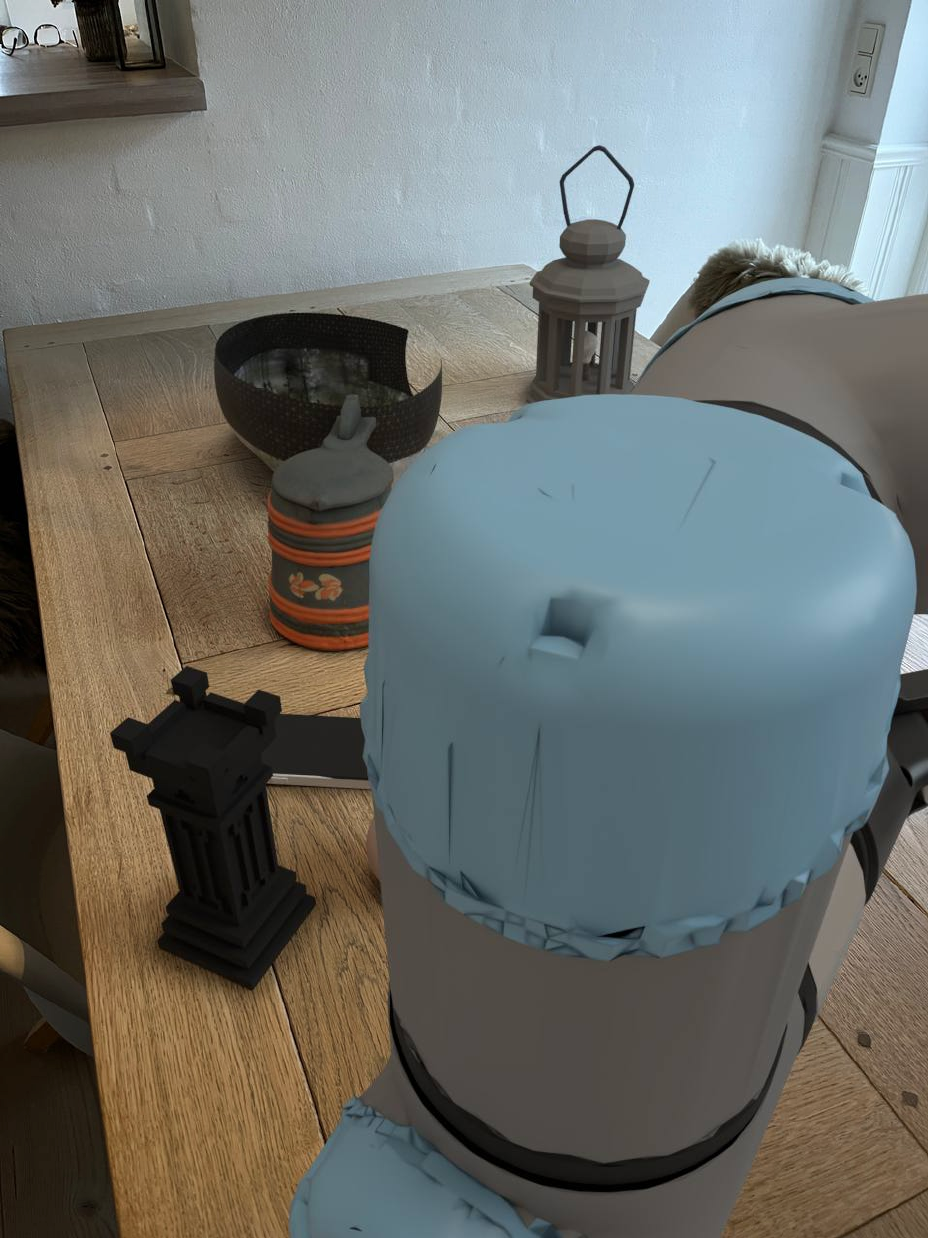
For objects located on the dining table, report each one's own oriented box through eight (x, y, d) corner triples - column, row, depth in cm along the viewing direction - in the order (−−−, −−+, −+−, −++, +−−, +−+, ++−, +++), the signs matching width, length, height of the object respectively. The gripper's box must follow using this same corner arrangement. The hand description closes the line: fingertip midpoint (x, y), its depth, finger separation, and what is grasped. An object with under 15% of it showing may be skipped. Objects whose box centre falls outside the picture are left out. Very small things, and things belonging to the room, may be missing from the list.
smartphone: (406, 783, 83) (227, 773, 83) (407, 794, 83) (229, 784, 84) (416, 719, 89) (250, 710, 90) (416, 729, 90) (251, 721, 91)
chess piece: (158, 947, 71) (99, 735, 59) (227, 868, 77) (185, 660, 65) (252, 990, 68) (209, 776, 57) (316, 904, 74) (288, 694, 62)
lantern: (635, 380, 157) (660, 134, 137) (640, 424, 143) (668, 159, 123) (528, 376, 158) (537, 132, 138) (523, 419, 145) (532, 156, 124)
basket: (424, 404, 149) (422, 295, 140) (458, 519, 121) (457, 392, 111) (231, 416, 146) (215, 304, 136) (218, 537, 117) (197, 406, 108)
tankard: (294, 551, 115) (275, 385, 103) (421, 555, 114) (416, 388, 103) (256, 650, 99) (229, 468, 88) (403, 655, 99) (395, 472, 87)
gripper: (396, 767, 37) (651, 527, 51) (1186, 1160, 25) (1229, 707, 39) (386, 596, 32) (668, 386, 47) (1336, 976, 21) (1324, 542, 35)
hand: (926, 533), depth 43 cm, fingers open, 13 cm apart
